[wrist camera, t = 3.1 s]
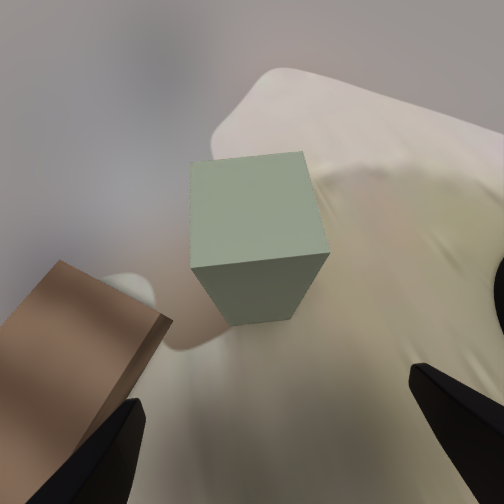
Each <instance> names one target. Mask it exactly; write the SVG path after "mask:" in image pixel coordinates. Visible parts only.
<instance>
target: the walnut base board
mask: <svg viewBox="0 0 504 504" xmlns="http://www.w3.org/2000/svg"><path fill="white" fill-rule="evenodd" d="M172 322H173V320H171V319H170V318H168V317H166V316H164V315H163V314H161V313H159V312H157V311H155V310H153V309H152V308H150V307H148V306H146V305H144V304H142V303H140V302H138V301H136V300H135V299H133V298H131V297H129V296H127V295H125V294H123V293H121V292H120V291H118V290H116V289H114V288H112V287H110V286H108V285H106V284H104V283H103V282H101V281H99V280H97V279H95V278H93V277H91V276H89V275H87V274H86V273H84V272H82V271H80V270H78V269H76V268H74V267H72V266H70V265H68V264H67V263H65V262H63V261H61V260H59V261H58V262H57V263H56V264H55V265H54V267H53V268H52V269H51V270H50V271H49V272H48V273H47V274H46V276H45V277H44V278H43V279H42V280H41V281H40V283H39V284H38V285H37V286H36V287H35V288H34V289H33V290H32V292H31V293H30V294H29V295H28V296H27V297H26V298H25V300H24V301H23V302H22V303H21V304H20V305H19V306H18V307H17V309H16V310H15V311H14V312H13V313H12V314H11V315H10V317H9V318H8V319H7V320H6V321H5V322H4V323H3V325H2V326H1V327H0V504H25V503H26V502H27V501H28V500H29V499H30V498H31V497H32V496H33V494H34V493H35V492H36V491H37V490H38V489H39V488H40V487H41V486H42V485H43V484H44V483H45V482H46V481H47V480H48V479H49V478H50V477H51V476H52V475H53V474H54V473H55V472H56V471H57V470H58V469H59V468H60V467H61V466H62V464H63V463H64V462H65V461H66V460H67V459H68V458H69V457H70V456H71V455H72V454H73V453H74V452H75V451H76V450H77V449H78V448H79V447H80V446H81V445H82V444H83V443H84V442H85V441H86V440H87V439H88V438H89V437H90V435H91V434H92V433H93V432H94V431H95V430H96V429H97V428H98V427H99V426H100V425H101V424H102V423H103V422H104V421H105V420H106V419H107V418H108V417H109V416H110V415H111V414H112V413H113V412H114V411H115V410H116V409H117V408H118V407H119V405H120V404H121V403H122V402H123V401H125V400H126V398H127V397H128V395H129V393H130V392H131V390H132V388H133V387H134V385H135V383H136V382H137V380H138V378H139V377H140V375H141V373H142V372H143V370H144V369H145V367H146V365H147V364H148V362H149V360H150V359H151V357H152V355H153V354H154V352H155V350H156V349H157V347H158V345H159V344H160V342H161V340H162V339H163V337H164V335H165V334H166V332H167V330H168V329H169V327H170V325H171V324H172Z"/></svg>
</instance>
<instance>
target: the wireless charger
mask: <svg viewBox="0 0 504 504" xmlns="http://www.w3.org/2000/svg"><path fill="white" fill-rule="evenodd" d="M494 301H495V308H496V312H497V316H498V320H499V323H500V326H501V329H502V331H503V334H504V258H503V260H502V261H501V263H500V265H499V267H498V270H497V273H496V276H495V282H494Z"/></svg>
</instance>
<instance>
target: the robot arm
mask: <svg viewBox="0 0 504 504" xmlns="http://www.w3.org/2000/svg"><path fill="white" fill-rule="evenodd" d="M409 388H410V390H411V392H412V394H413V396H414V398H415V400H416V401H417V403H418V405H419V407H420V409H421V411H422V412H423V414H424V416H425V418H426V420H427V422H428V423H429V425H430V427H431V429H432V431H433V433H434V434H435V436H436V438H437V439H438V441H439V443H440V444H441V446H442V448H443V449H444V451H445V452H446V454H447V455H448V457H449V458H450V460H451V461H452V463H453V464H454V466H455V467H456V469H457V470H458V472H459V473H460V475H461V477H462V478H463V480H464V481H465V483H466V484H467V486H468V487H469V489H470V490H471V492H472V493H473V495H474V496H475V498H476V499H477V501H478V502H479V504H504V406H502V405H500V404H499V403H497V402H495V401H493V400H492V399H490V398H488V397H486V396H484V395H483V394H481V393H479V392H477V391H475V390H474V389H472V388H470V387H468V386H466V385H465V384H463V383H461V382H459V381H457V380H456V379H454V378H452V377H450V376H448V375H447V374H445V373H443V372H441V371H439V370H438V369H436V368H434V367H432V366H430V365H429V364H427V363H417V364H413V365H412V366H411V369H410V375H409ZM145 423H146V416H145V413H144V410H143V407H142V404H141V401H140V399H139V398H132V399H126V400H125V401H123V402H122V403H121V404H120V405H119V407H118V408H117V409H116V410H115V411H114V412H113V413H112V414H111V415H110V416H109V417H108V418H107V419H106V420H105V421H104V422H103V423H102V424H101V425H100V426H99V427H98V428H97V429H96V430H95V431H94V432H93V433H92V434H91V435H90V437H89V438H88V439H87V440H86V441H85V442H84V443H83V444H82V445H81V446H80V447H79V448H78V449H77V450H76V451H75V452H74V453H73V454H72V455H71V456H70V457H69V458H68V459H67V460H66V461H65V462H64V463H63V464H62V466H61V467H60V468H59V469H58V470H57V471H56V472H55V473H54V474H53V475H52V476H51V477H50V478H49V479H48V480H47V481H46V482H45V483H44V484H43V485H42V486H41V487H40V488H39V489H38V490H37V491H36V492H35V493H34V494H33V496H32V497H31V498H30V499H29V500H28V501H27V502H26V503H25V504H127V501H128V497H129V494H130V491H131V487H132V483H133V480H134V475H135V471H136V466H137V461H138V457H139V452H140V447H141V442H142V437H143V433H144V428H145Z"/></svg>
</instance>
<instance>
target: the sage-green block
mask: <svg viewBox="0 0 504 504" xmlns="http://www.w3.org/2000/svg"><path fill="white" fill-rule="evenodd" d="M330 253H331V252H330V248H329V245H328V241H327V237H326V234H325V230H324V226H323V223H322V219H321V215H320V212H319V208H318V204H317V201H316V197H315V194H314V190H313V186H312V183H311V179H310V175H309V172H308V168H307V164H306V161H305V157H304V154H303V151H299V152H289V153H280V154H270V155H260V156H250V157H240V158H231V159H221V160H211V161H201V162H192V163H190V268H191V270H192V271H193V273H194V274H195V276H196V277H197V279H198V280H199V281H200V283H201V284H202V286H203V287H204V289H205V290H206V292H207V293H208V295H209V296H210V298H211V299H212V301H213V302H214V303H215V305H216V306H217V308H218V309H219V311H220V312H221V314H222V315H223V317H224V318H225V320H226V321H227V322H228V324H229V326H237V325H245V324H254V323H262V322H271V321H279V320H288V319H290V318H291V317H292V315H293V313H294V312H295V310H296V308H297V307H298V305H299V303H300V302H301V300H302V299H303V297H304V295H305V294H306V292H307V290H308V289H309V287H310V285H311V284H312V282H313V280H314V279H315V277H316V276H317V274H318V272H319V271H320V269H321V267H322V266H323V264H324V262H325V261H326V259H327V257H328V256H329V254H330Z"/></svg>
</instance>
